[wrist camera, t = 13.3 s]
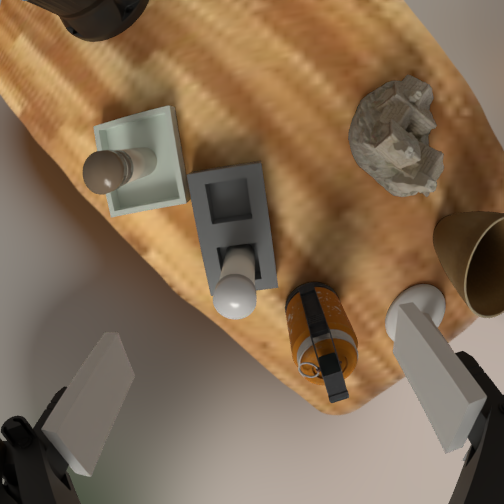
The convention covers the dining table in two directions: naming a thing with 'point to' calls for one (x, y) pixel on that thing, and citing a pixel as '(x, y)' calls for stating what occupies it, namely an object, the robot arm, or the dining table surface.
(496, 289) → the plant pot
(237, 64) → the dining table surface
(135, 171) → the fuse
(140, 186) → the parts tray
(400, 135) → the grey jagged lump
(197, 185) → the block
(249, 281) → the cylinder
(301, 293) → the canister
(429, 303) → the candlestick
